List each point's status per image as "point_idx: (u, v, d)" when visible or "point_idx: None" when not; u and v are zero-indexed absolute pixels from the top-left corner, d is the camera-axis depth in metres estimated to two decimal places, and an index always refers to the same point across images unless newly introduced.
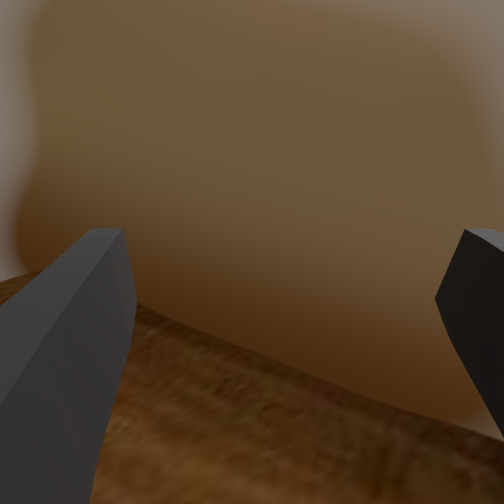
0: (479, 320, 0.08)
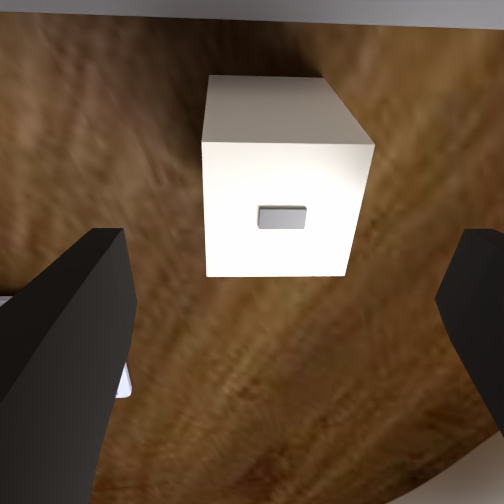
0: (479, 320, 0.08)
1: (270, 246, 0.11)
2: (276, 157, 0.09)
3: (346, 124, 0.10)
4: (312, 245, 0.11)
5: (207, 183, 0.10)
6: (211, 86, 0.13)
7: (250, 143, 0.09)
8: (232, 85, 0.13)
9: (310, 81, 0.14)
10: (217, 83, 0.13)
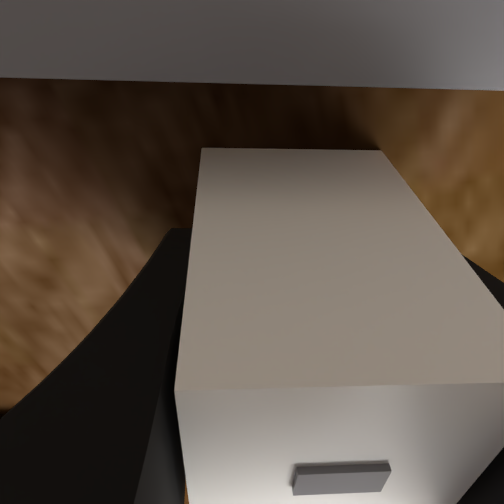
0: None
1: None
2: (341, 405, 0.04)
3: (466, 294, 0.05)
4: (389, 501, 0.06)
5: (189, 444, 0.05)
6: (204, 178, 0.08)
7: (284, 389, 0.04)
8: (239, 174, 0.08)
9: (363, 160, 0.09)
10: (214, 170, 0.08)
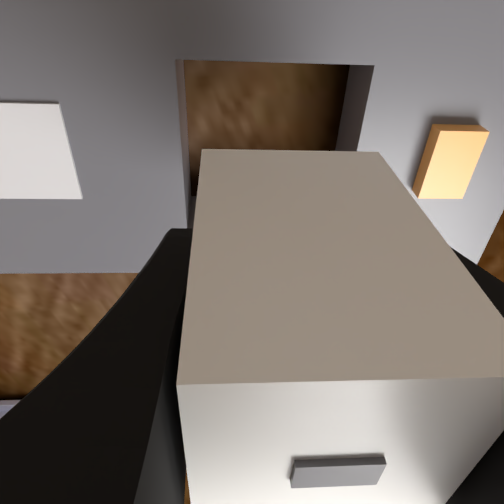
0: None
1: (309, 498, 0.06)
2: (337, 399, 0.04)
3: (460, 293, 0.05)
4: (385, 494, 0.06)
5: (191, 437, 0.05)
6: (204, 179, 0.08)
7: (282, 384, 0.04)
8: (238, 175, 0.08)
9: (360, 161, 0.09)
10: (214, 171, 0.08)
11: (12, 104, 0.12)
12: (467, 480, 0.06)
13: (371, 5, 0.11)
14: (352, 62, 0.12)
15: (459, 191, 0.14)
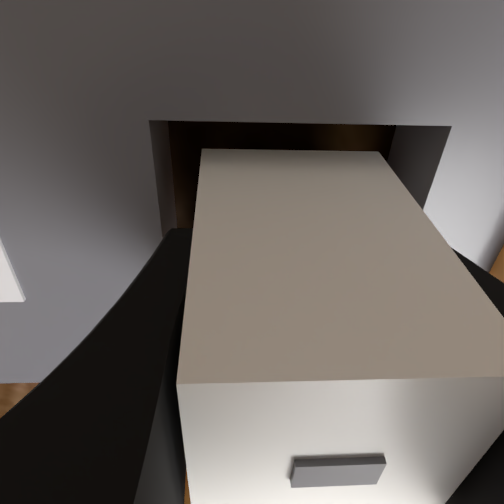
0: None
1: (309, 498, 0.06)
2: (337, 399, 0.04)
3: (460, 292, 0.05)
4: (385, 494, 0.06)
5: (191, 436, 0.05)
6: (204, 179, 0.08)
7: (283, 382, 0.04)
8: (238, 175, 0.08)
9: (360, 161, 0.09)
10: (214, 171, 0.08)
11: None
12: (467, 480, 0.06)
13: (457, 39, 0.07)
14: (418, 122, 0.08)
15: None
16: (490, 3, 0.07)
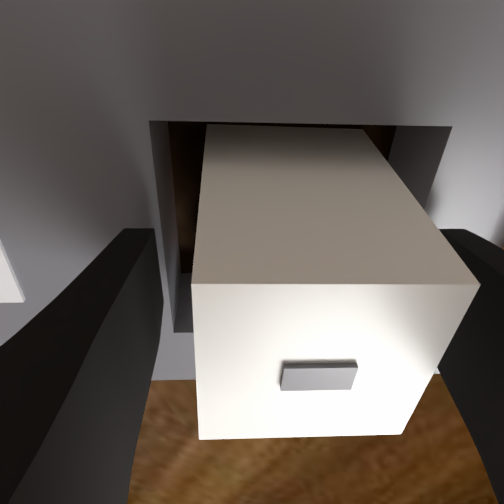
0: None
1: (296, 406, 0.07)
2: (316, 302, 0.06)
3: (420, 230, 0.07)
4: (359, 404, 0.07)
5: (201, 337, 0.06)
6: (209, 147, 0.09)
7: (274, 285, 0.05)
8: (239, 144, 0.09)
9: (346, 136, 0.10)
10: (218, 141, 0.09)
11: None
12: None
13: (458, 39, 0.07)
14: (419, 122, 0.08)
15: None
16: (491, 3, 0.07)
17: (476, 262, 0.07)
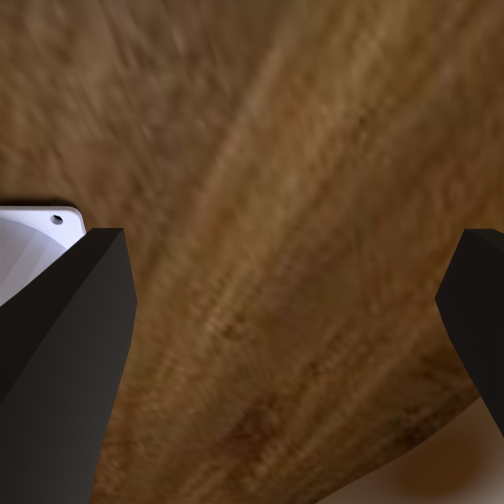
0: (479, 320, 0.08)
1: None
2: None
3: None
4: None
5: None
6: None
7: None
8: None
9: None
10: None
11: None
12: None
13: None
14: None
15: None
16: None
17: None
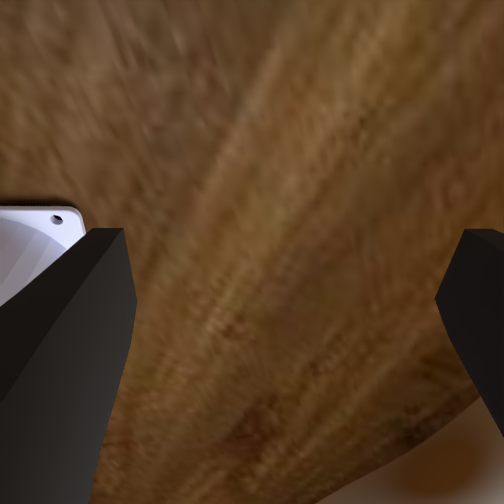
0: (479, 320, 0.08)
1: None
2: None
3: None
4: None
5: None
6: None
7: None
8: None
9: None
10: None
11: None
12: None
13: None
14: None
15: None
16: None
17: None
